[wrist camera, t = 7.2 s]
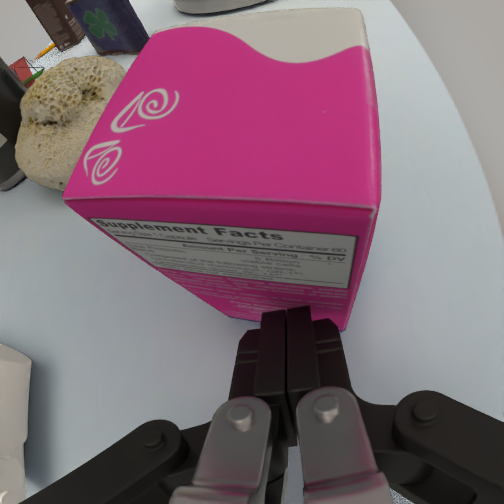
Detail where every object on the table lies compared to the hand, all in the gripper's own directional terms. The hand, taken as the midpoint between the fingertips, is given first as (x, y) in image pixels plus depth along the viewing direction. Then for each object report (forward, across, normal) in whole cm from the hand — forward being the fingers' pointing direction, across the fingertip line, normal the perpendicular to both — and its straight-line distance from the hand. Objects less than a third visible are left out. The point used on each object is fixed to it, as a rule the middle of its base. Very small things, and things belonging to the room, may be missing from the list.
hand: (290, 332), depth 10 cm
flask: (+26, +14, -20) cm, 35 cm away
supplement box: (+6, 0, +1) cm, 6 cm away
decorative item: (+16, +14, -9) cm, 23 cm away
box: (+35, +25, -29) cm, 51 cm away
